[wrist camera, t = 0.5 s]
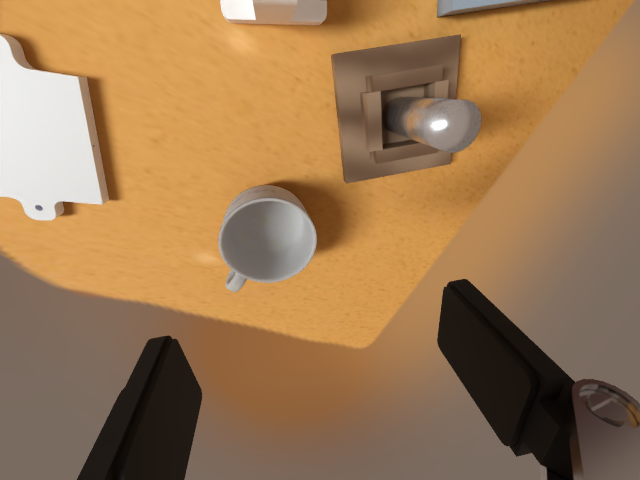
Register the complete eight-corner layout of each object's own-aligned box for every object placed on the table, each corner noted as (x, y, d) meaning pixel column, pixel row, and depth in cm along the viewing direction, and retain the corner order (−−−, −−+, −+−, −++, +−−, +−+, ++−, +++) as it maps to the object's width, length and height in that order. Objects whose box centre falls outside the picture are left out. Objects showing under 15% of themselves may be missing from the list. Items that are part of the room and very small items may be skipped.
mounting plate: (114, 217, 36) (106, 224, 34) (-12, 209, 33) (-27, 215, 32) (83, 48, 28) (71, 45, 26) (-85, 18, 25) (-110, 13, 24)
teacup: (268, 159, 35) (269, 177, 28) (324, 217, 40) (336, 245, 33) (193, 231, 38) (176, 263, 31) (254, 278, 43) (251, 315, 36)
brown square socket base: (331, 55, 31) (339, 51, 28) (453, 36, 32) (475, 30, 29) (343, 180, 38) (351, 189, 34) (444, 161, 39) (461, 168, 35)
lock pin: (381, 99, 33) (435, 104, 22) (415, 93, 33) (484, 95, 22) (383, 135, 35) (433, 156, 24) (414, 130, 35) (477, 148, 24)
